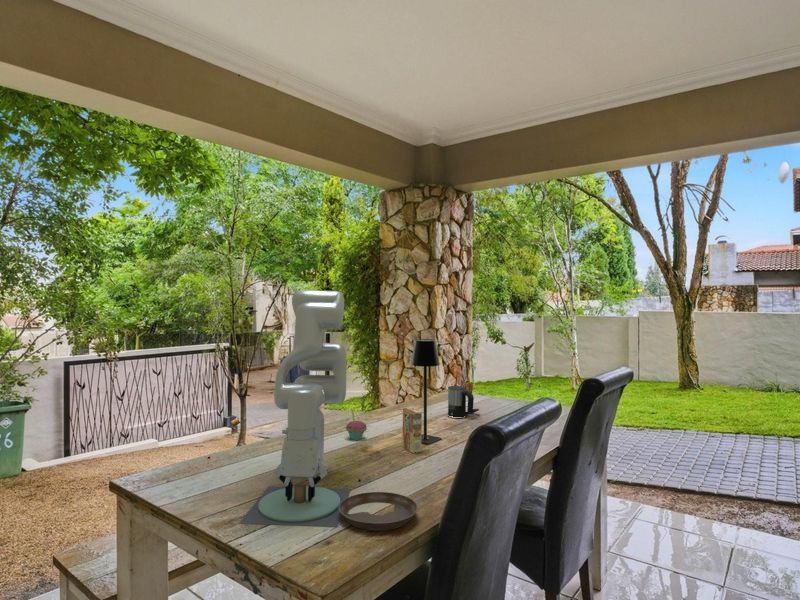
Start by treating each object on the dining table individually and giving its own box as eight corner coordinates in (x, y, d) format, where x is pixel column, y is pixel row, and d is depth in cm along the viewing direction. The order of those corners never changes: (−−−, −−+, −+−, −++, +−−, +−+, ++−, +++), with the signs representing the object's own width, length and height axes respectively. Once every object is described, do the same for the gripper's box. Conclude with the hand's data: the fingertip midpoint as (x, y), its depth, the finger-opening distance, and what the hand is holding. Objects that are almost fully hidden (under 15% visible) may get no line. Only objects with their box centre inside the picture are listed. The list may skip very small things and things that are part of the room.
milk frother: (444, 417, 243) (445, 387, 243) (454, 411, 258) (454, 383, 258) (472, 421, 238) (473, 390, 238) (480, 414, 252) (481, 385, 252)
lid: (246, 521, 125) (247, 499, 125) (272, 488, 147) (272, 470, 147) (332, 523, 124) (333, 502, 124) (345, 490, 146) (345, 472, 146)
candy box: (421, 452, 187) (422, 411, 187) (412, 453, 185) (412, 412, 185) (411, 445, 195) (411, 407, 195) (401, 447, 193) (402, 407, 193)
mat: (238, 525, 124) (238, 523, 124) (268, 487, 149) (268, 486, 149) (337, 528, 123) (337, 527, 123) (351, 490, 148) (351, 488, 148)
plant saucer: (340, 502, 140) (340, 490, 140) (413, 501, 141) (413, 490, 141) (336, 537, 119) (336, 523, 119) (421, 536, 120) (421, 522, 120)
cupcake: (342, 440, 200) (343, 410, 200) (349, 434, 209) (350, 406, 209) (363, 442, 198) (363, 412, 198) (369, 436, 207) (369, 408, 207)
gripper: (266, 436, 132) (265, 503, 132) (329, 438, 132) (328, 506, 132) (274, 429, 140) (273, 493, 140) (334, 430, 139) (333, 495, 139)
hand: (300, 498), depth 136 cm, fingers open, 5 cm apart
